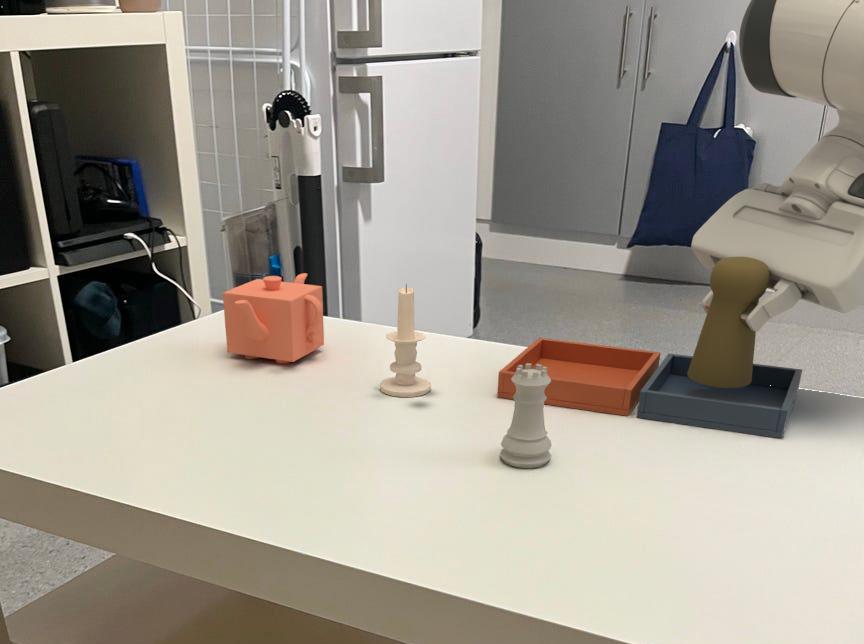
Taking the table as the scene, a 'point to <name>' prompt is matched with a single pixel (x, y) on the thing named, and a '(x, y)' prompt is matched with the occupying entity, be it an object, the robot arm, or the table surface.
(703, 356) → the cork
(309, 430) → the table surface
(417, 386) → the candle
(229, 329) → the teapot
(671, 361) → the slate tray
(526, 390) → the rook chess piece
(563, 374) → the terracotta tray
